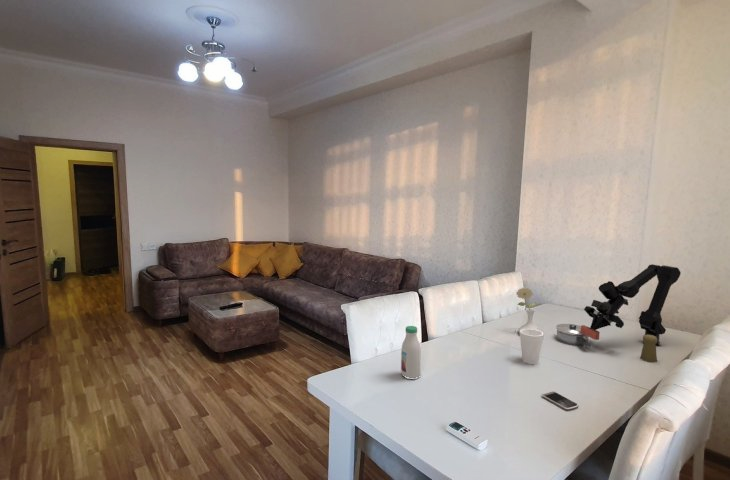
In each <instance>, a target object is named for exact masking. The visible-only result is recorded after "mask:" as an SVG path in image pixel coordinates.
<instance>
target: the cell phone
mask: <svg viewBox="0 0 730 480" xmlns="http://www.w3.org/2000/svg"><path fill="white" fill-rule="evenodd" d="M540 395H541V396H540V397H541V398H543V399H544V400H546V401H548V402H550V403H551V404H553V405H554V406H557V407H558V408H561V409H562V410H564V411H566V412H569V411H573V410H576V409H578V408H579V404H578V403H576V402H574V401H573V400H571V399H570V398H567V397H565V396H563V395H562V394H559V393H558V392H556V391H551V392H547V393H542V394H540Z"/></svg>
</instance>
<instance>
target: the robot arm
mask: <svg viewBox="0 0 730 480" xmlns="http://www.w3.org/2000/svg"><path fill="white" fill-rule="evenodd" d="M680 276H681V271H680V269H679V267H677V266H672V265H671V266H669V265H664V264H662V265H658V264H649V265H648V266H647V267H646V268H645V269H644V270H642V271H641V272H640V273H638V274H637V275H635V276H634V277H633V278H631V279H630V280H625V281H622V282H621V283H619V284H618V285H615V284H614V282H613V281H609V280H608V281H606V282H604V283H602V284H600V285H599V286H598V290H599V292H600V294H602V295H603V297H604V298H605V299H607V301H603V302H602V301H599V300H596V299H593V300H592V303H591V305H590V306H589V305H586V306H585V307H584V308H583V310H584V311H585V313H587V315H588V316H589V317H591V318H592V320H591V321H592V322H591V325H590V328H592V329H594V330H597V331H598V330H599V329H603V328H605V327H610V326H612V323H615V327H616V328H619V329H622V328H623V327H624V324H625V322H624V321H623V320H622V319H621V317H620V316H618V314H619V313H620V312H619V310H620V309H621V308H622V307H623V305H625V306H629V302H628V300H629V299H632V298H635V297H636V296H637V295H638V293H639V292H640V288H642V287H643V286H644V285H646V284H647V283H648V282H650V281H651V280H652V279H653V278H655V277H656V278H657V282H658V283H657V285H656V287H655V289H654V293H653V296H652V298H651V301H650V304H649V306H648V309H647V310H645V311H643V310H642V311H641V312H640V315H639V317H638V323H639V326H640V329H641V330H644V335H653V336H655V337H657V343H656V347H660V345H661V341H660V336H661V335H664V334H665V333H666V327H664V326H663V324H662V323H663V319H662V318H663V317H662V315H661V312H662V311H663V307H664V304H665V302H666V299H667V296H668V294H669V292H670V290H671V287H672V286H673V285H674V284H675V283H676V282H677V281H678V280H679V278H680ZM626 298H629V299H626ZM616 314H617V315H616ZM642 344H644V341H643V340H642Z"/></svg>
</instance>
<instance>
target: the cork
mask: <svg viewBox="0 0 730 480" xmlns="http://www.w3.org/2000/svg"><path fill="white" fill-rule="evenodd" d="M643 341H644V343H643V346H642V350H641V352H640V353H641V354H640V360H641V361H644V362H647V363H658V356H657V346H656V343H657V337H655V336H653V335H645V334H644V335H643V337H642V342H643Z"/></svg>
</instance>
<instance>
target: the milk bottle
mask: <svg viewBox="0 0 730 480" xmlns="http://www.w3.org/2000/svg"><path fill="white" fill-rule="evenodd" d="M417 334H418V327H417V326H414V325H407V326H405V338H404V340H403V342H402V344H401V353H400V354H401V359H400V365H401V366H400V375H401V374H402V375H404V376H406V377H409V378H416V377H419V376H420V377H421V372H422V371H421V369H422V368H421V364H422V363H421V360H422V356H421V355H422V352H421V351H422V350H421V349H422V348H421V343H420V341H419V339H418V335H417ZM402 375H401V376H402ZM420 377H419V378H420Z"/></svg>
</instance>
